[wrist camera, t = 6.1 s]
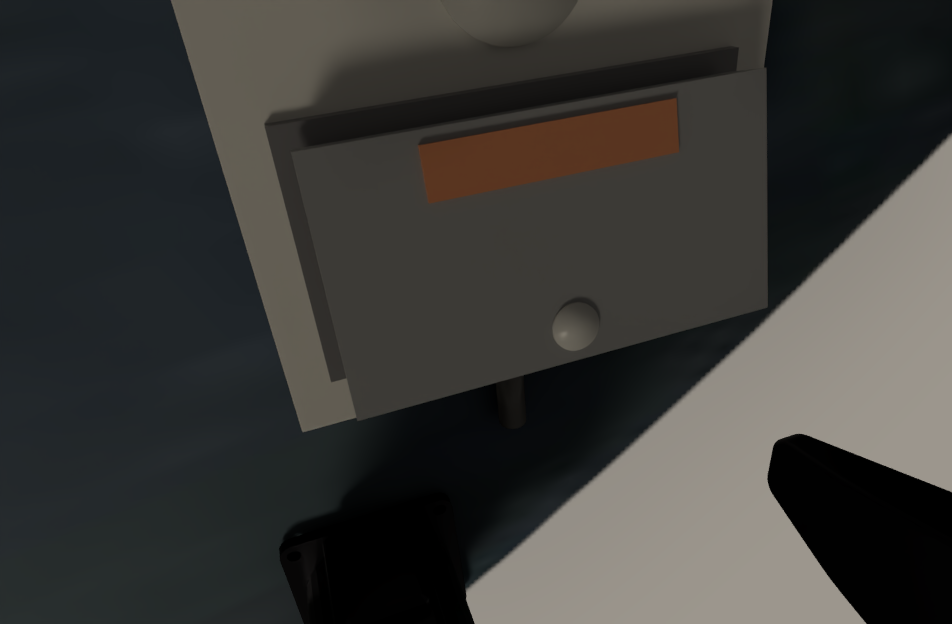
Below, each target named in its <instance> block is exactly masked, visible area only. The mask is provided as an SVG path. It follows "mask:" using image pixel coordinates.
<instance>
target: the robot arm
mask: <svg viewBox="0 0 952 624" xmlns="http://www.w3.org/2000/svg"><path fill="white" fill-rule="evenodd" d="M768 484H769V488H770V490H771V492H772V494H773V495H774V497H775V498H776V500H777V501H778V503H779V504H780V506H781V507H782V509H783V510H784V512H785V513H786V515H787V516H788V518H789V519H790V520H791V522H792V524H793V525H794V526H795V528H796V529H797V531H798V533H799V534H800V535H801V537H802V538H803V540H804V541H805V543H806V544H807V546H808V547H809V549H810V550H811V552H812V553H813V555H814V556H815V558H816V559H817V561H818V562H819V563H820V565H821V566H822V568H823V569H824V571H825V572H826V573H827V575H828V576H829V577H830V579H831V580H832V582H833V583H834V584H835V585H836V587H837V588H838V589H839V591H840V592H841V593H842V594H843V596H844V597H845V598H846V599H847V600H848V602H849V603H850V604H851V605H852V606H853V608H854V609H855V610H856V611H857V613H858V614H859V615H860V616H861V618H862V619H863V620H864V621H865V622H866V624H952V492H950V491H947V490H945V489H942V488H939V487H937V486H935V485H932V484H930V483H927V482H924V481H922V480H919V479H917V478H914V477H911V476H909V475H907V474H904V473H902V472H899V471H896V470H894V469H891V468H889V467H886V466H884V465H881V464H878V463H876V462H873V461H871V460H868V459H866V458H863V457H861V456H858V455H855V454H853V453H851V452H848V451H845V450H843V449H840V448H838V447H835V446H832V445H830V444H827V443H825V442H823V441H820V440H817V439H815V438H812V437H810V436H807V435H804V434H795V435H791V436H789V437H785V438H782V439H780V440H778V441H777V442H776V443H775V444H774V446H773V451H772V456H771V461H770V466H769V471H768ZM438 505H441V506H439V507H436V506H438ZM435 507H436V508H435ZM279 551H280V561H281V564H282V567H283V569H284V572H285V575H286V577H287V580H288V583H289V585H290V588H291V591H292V593H293V596H294V598H295V601H296V604H297V606H298V609H299V612H300V614H301V617H302V620H303V622H304V624H474V621H473V618H472V615H471V613H470V610H469V607H468V604H467V601H466V590H465V584H464V578H463V572H462V565H461V559H460V553H459V546H458V540H457V534H456V527H455V521H454V515H453V509H452V505H451V502H450V499H449V497H448V495H446V494H445V493H435V494H432V495H429V496H425V497H422V498H419V499H416V500H413V501H409V502H406V503H403V504H400V505H397V506H393V507H390V508H387V509H384V510H381V511H377V512H374V513H371V514H368V515H364V516H361V517H358V518H355V519H352V520H348V521H345V522H342V523H339V524H336V525H332V526H329V527H326V528H323V529H320V530H316V531H313V532H310V533H307V534H303V535H300V536H297V537H294V538H291V539H288V540H286V541H285V542H283V543H282V544H281V546H280V548H279ZM293 551H297V552H295V553H291V552H293Z"/></svg>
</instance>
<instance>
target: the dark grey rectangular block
mask: <svg viewBox="0 0 952 624" xmlns="http://www.w3.org/2000/svg"><path fill="white" fill-rule="evenodd" d="M290 151H291V155H292V159H293V163H294V167H295V171H296V175H297V179H298V183H299V187H300V191H301V195H302V200H303V204H304V208H305V212H306V216H307V220H308V224H309V228H310V232H311V236H312V240H313V244H314V248H315V252H316V256H317V260H318V265H319V269H320V273H321V277H322V281H323V285H324V289H325V293H326V297H327V301H328V305H329V309H330V313H331V317H332V321H333V325H334V330H335V334H336V338H337V342H338V346H339V350H340V354H341V358H342V362H343V366H344V370H345V374H346V378H347V382H348V386H349V390H350V395H351V399H352V402H353V406H354V410H355V414H356V417H357V421H360V420H364V419H367V418H371V417H374V416H378V415H382V414H385V413H389V412H392V411H396V410H400V409H403V408H407V407H410V406H414V405H418V404H421V403H425V402H428V401H432V400H436V399H439V398H443V397H446V396H450V395H454V394H457V393H461V392H464V391H468V390H472V389H475V388H479V387H482V386H486V385H490V384H493V383H497V382H500V381H504V380H508V379H511V378H515V377H518V376H522V375H526V374H529V373H533V372H537V371H540V370H544V369H547V368H551V367H555V366H558V365H562V364H565V363H569V362H573V361H576V360H580V359H583V358H587V357H591V356H594V355H598V354H601V353H605V352H609V351H612V350H616V349H619V348H623V347H627V346H630V345H634V344H637V343H641V342H645V341H648V340H652V339H655V338H659V337H663V336H666V335H670V334H673V333H677V332H681V331H684V330H688V329H691V328H695V327H699V326H702V325H706V324H709V323H713V322H717V321H720V320H724V319H728V318H731V317H735V316H738V315H742V314H746V313H749V312H753V311H756V310H760V309H764V308H767V307H768V258H767V73H766V68H759V69H750V70H740V71H732V72H726V73H720V74H715V75H709V76H703V77H698V78H692V79H686V80H681V81H675V82H669V83H664V84H658V85H652V86H647V87H641V88H636V89H630V90H624V91H619V92H613V93H607V94H602V95H596V96H590V97H585V98H579V99H573V100H568V101H562V102H557V103H551V104H545V105H540V106H534V107H528V108H523V109H517V110H511V111H506V112H500V113H494V114H489V115H483V116H478V117H472V118H466V119H461V120H455V121H449V122H444V123H438V124H432V125H427V126H421V127H415V128H410V129H404V130H399V131H393V132H387V133H382V134H376V135H370V136H365V137H359V138H353V139H348V140H342V141H336V142H331V143H325V144H319V145H314V146H308V147H303V148H297V149H291V150H290Z"/></svg>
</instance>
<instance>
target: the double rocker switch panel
mask: <svg viewBox="0 0 952 624" xmlns="http://www.w3.org/2000/svg"><path fill="white" fill-rule="evenodd" d="M772 1H773V0H171V2H172V5H173V8H174V11H175V15H176V18H177V21H178V25H179V28H180V31H181V34H182V38H183V41H184V44H185V48H186V51H187V54H188V58H189V61H190V64H191V67H192V71H193V74H194V77H195V81H196V84H197V87H198V90H199V94H200V97H201V100H202V104H203V107H204V110H205V113H206V117H207V120H208V123H209V127H210V130H211V133H212V136H213V140H214V143H215V146H216V150H217V153H218V156H219V159H220V163H221V166H222V169H223V173H224V176H225V179H226V182H227V186H228V189H229V192H230V196H231V199H232V202H233V206H234V209H235V212H236V215H237V219H238V222H239V225H240V229H241V232H242V235H243V238H244V242H245V245H246V248H247V252H248V255H249V258H250V261H251V265H252V268H253V271H254V275H255V278H256V281H257V284H258V288H259V291H260V294H261V298H262V301H263V304H264V307H265V311H266V314H267V317H268V321H269V324H270V327H271V330H272V334H273V337H274V340H275V344H276V347H277V350H278V354H279V357H280V360H281V363H282V367H283V370H284V373H285V377H286V380H287V383H288V386H289V390H290V393H291V396H292V400H293V403H294V406H295V409H296V413H297V416H298V419H299V423H300V426H301V429H302V432H305V431H309V430H313V429H316V428H320V427H324V426H327V425H331V424H334V423H338V422H342V421H345V420H349V419H353V418H356V414H355V410H354V406H353V402H352V399H351V395H350V390H349V386H348V382H347V378H346V374H345V370H344V366H343V362H342V358H341V354H340V350H339V346H338V342H337V338H336V334H335V330H334V325H333V321H332V317H331V313H330V309H329V305H328V301H327V297H326V293H325V289H324V285H323V281H322V277H321V273H320V269H319V265H318V260H317V256H316V252H315V248H314V244H313V240H312V236H311V232H310V228H309V224H308V220H307V216H306V212H305V208H304V204H303V200H302V195H301V191H300V187H299V183H298V179H297V175H296V171H295V167H294V163H293V159H292V155H291V151H290V150H291V149H297V148H303V147H308V146H314V145H319V144H325V143H331V142H336V141H342V140H348V139H353V138H359V137H365V136H370V135H376V134H382V133H387V132H393V131H399V130H404V129H410V128H415V127H421V126H427V125H432V124H438V123H444V122H449V121H455V120H461V119H466V118H472V117H478V116H483V115H489V114H494V113H500V112H506V111H511V110H517V109H523V108H528V107H534V106H540V105H545V104H551V103H557V102H562V101H568V100H573V99H579V98H585V97H590V96H596V95H602V94H607V93H613V92H619V91H624V90H630V89H636V88H641V87H647V86H652V85H658V84H664V83H669V82H675V81H681V80H686V79H692V78H698V77H703V76H709V75H715V74H720V73H726V72H732V71H740V70H750V69H759V68H764V62H765V54H766V47H767V39H768V32H769V24H770V16H771V9H772ZM496 392H497V403H498V413H499V422H500V424H501V425H502V426H503V427H505V428H508V429H516V428H520V427H522V426H523V425H524V424H525V423H526V406H525V391H524V377H523V375H522V376H518V377H515V378H511V379H508V380H504V381H500V382H497V383H496Z"/></svg>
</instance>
